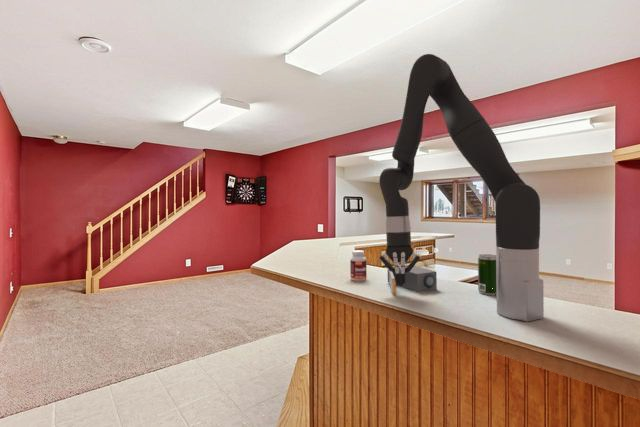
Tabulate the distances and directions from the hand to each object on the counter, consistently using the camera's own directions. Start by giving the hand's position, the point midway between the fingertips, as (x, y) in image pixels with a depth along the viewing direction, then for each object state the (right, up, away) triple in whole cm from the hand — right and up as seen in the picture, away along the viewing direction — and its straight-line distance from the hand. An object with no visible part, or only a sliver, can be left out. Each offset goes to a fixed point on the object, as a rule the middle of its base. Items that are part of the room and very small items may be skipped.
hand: (400, 284), depth 100 cm
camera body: (+7, -3, +10) cm, 12 cm away
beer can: (+27, -3, 0) cm, 28 cm away
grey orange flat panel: (-2, -3, +6) cm, 7 cm away
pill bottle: (-11, -3, +22) cm, 24 cm away
